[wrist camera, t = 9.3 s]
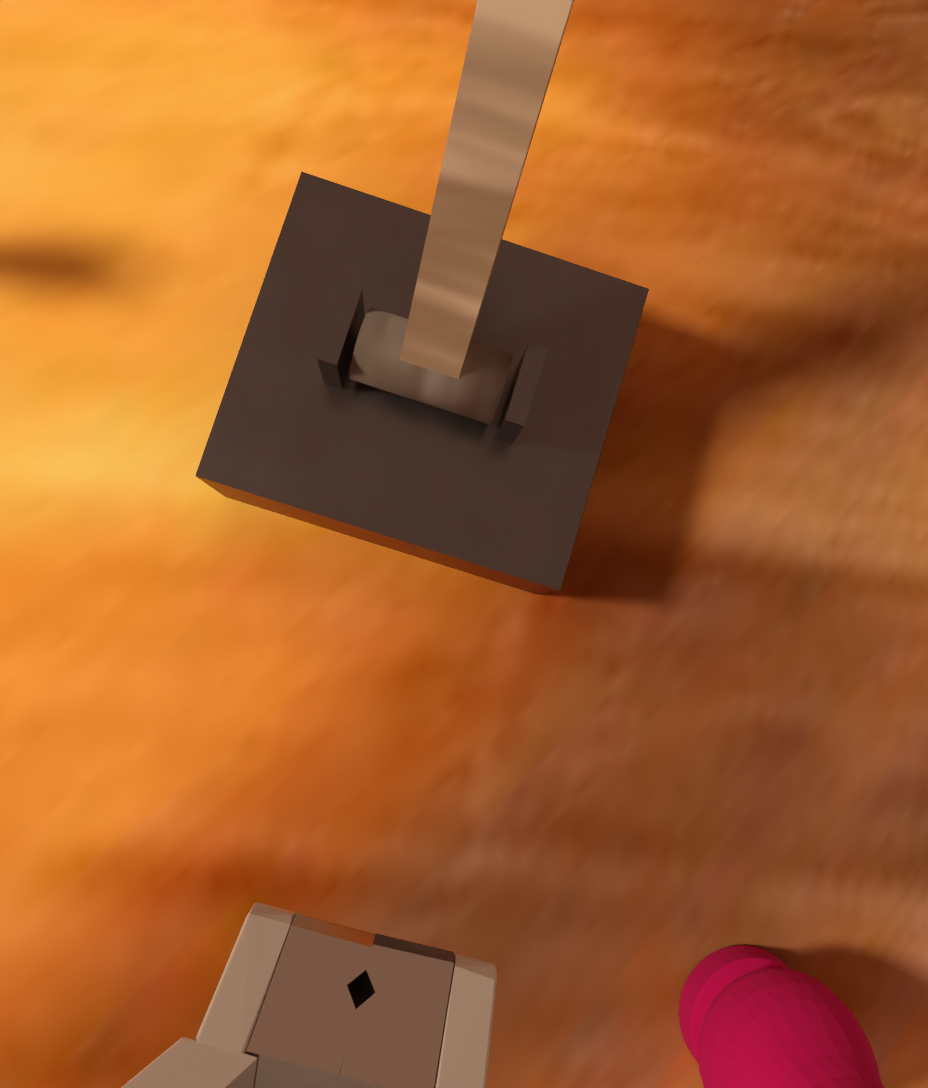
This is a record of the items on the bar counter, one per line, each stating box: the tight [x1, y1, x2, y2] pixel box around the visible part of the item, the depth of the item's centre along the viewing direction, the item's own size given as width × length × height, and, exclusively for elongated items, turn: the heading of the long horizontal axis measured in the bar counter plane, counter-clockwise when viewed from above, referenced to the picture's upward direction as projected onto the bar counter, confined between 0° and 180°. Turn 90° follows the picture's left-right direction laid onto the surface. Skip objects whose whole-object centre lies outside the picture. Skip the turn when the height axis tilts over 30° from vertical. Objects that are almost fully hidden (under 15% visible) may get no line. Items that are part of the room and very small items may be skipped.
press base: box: [196, 172, 649, 594], centre depth 37 cm, size 14×16×9 cm
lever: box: [350, 0, 574, 425], centre depth 26 cm, size 4×6×22 cm
